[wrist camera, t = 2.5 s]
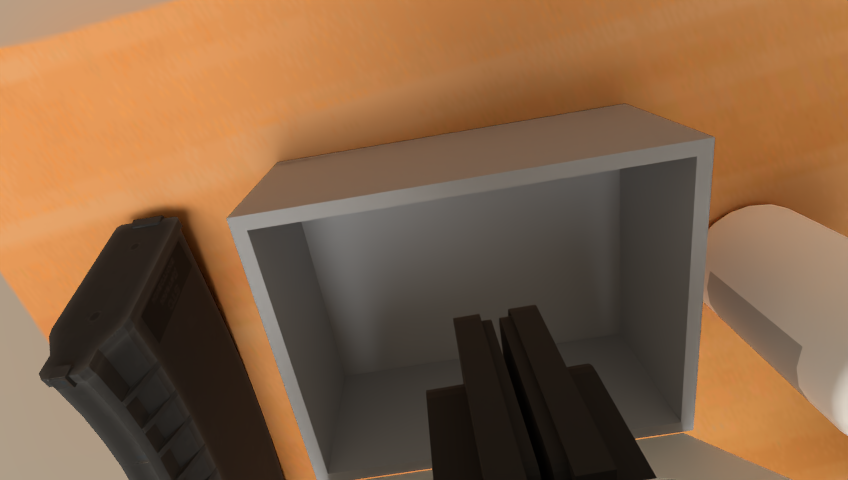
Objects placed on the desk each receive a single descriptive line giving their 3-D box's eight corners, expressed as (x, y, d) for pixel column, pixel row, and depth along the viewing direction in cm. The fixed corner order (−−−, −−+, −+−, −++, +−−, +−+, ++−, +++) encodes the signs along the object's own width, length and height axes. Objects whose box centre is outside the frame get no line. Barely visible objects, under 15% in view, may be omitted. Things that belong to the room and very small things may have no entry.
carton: (625, 103, 25) (715, 136, 18) (625, 332, 31) (693, 429, 24) (277, 162, 26) (226, 218, 19) (339, 376, 31) (318, 484, 24)
